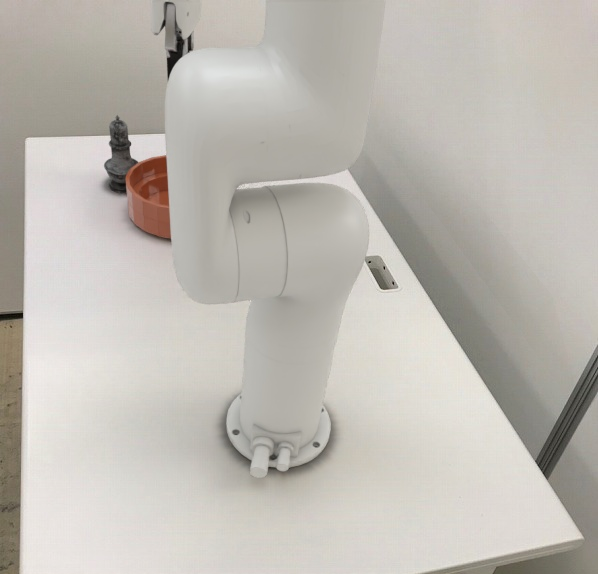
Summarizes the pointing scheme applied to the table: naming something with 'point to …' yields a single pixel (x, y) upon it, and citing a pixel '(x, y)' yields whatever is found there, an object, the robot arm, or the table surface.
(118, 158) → the salt shaker
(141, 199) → the bowl
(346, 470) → the table surface
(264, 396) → the robot arm
